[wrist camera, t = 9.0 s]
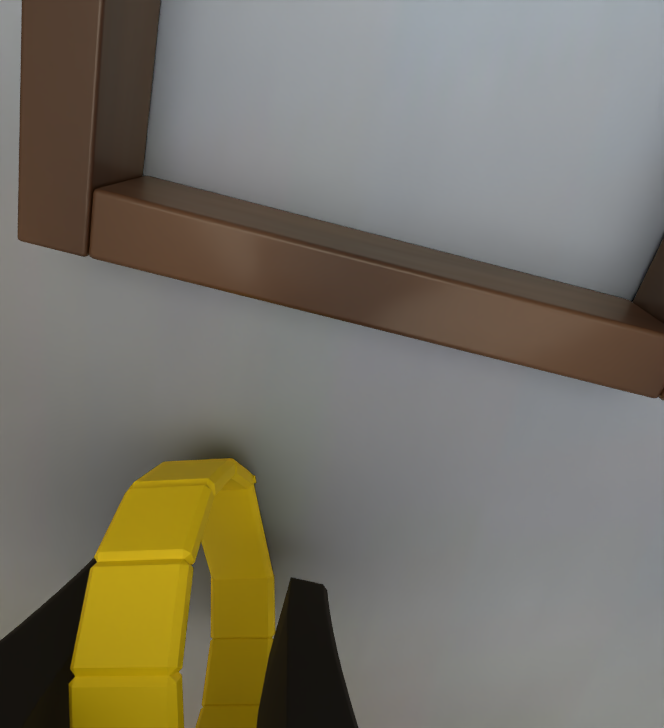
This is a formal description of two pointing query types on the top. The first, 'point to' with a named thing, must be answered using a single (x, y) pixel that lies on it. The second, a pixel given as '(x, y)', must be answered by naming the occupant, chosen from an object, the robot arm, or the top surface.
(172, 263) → the holder
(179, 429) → the top surface
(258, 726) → the robot arm
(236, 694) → the watch
